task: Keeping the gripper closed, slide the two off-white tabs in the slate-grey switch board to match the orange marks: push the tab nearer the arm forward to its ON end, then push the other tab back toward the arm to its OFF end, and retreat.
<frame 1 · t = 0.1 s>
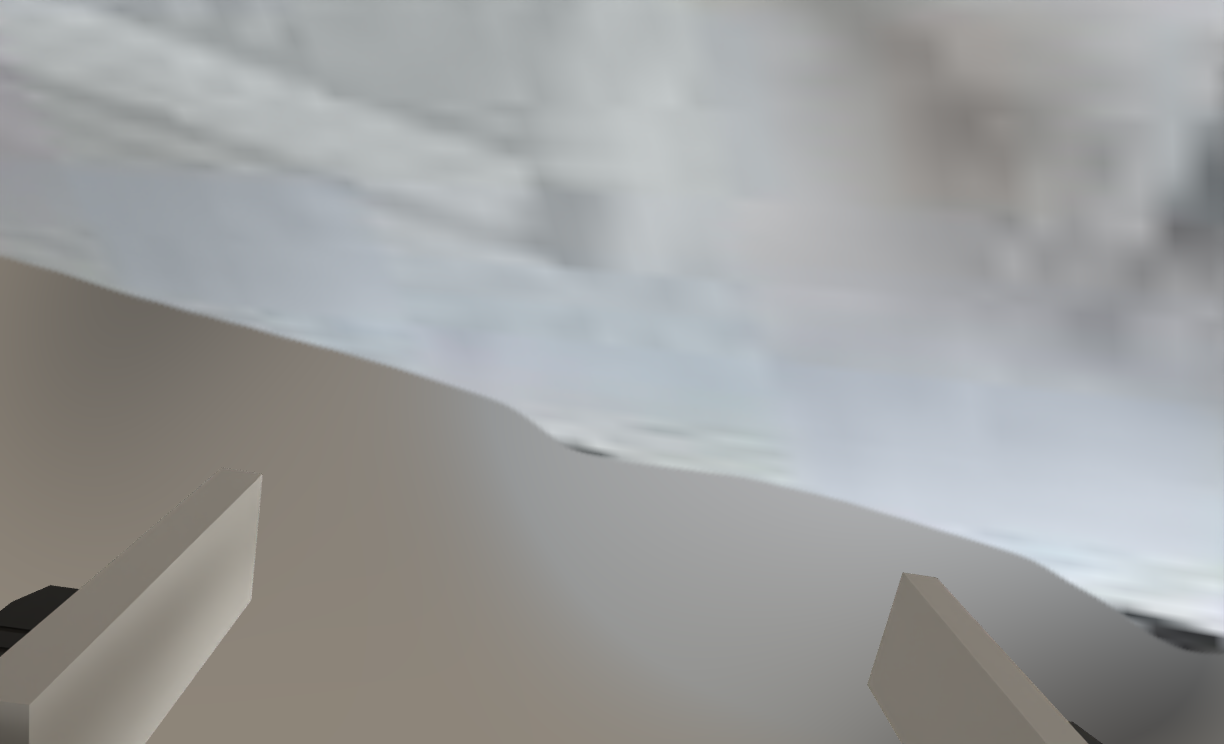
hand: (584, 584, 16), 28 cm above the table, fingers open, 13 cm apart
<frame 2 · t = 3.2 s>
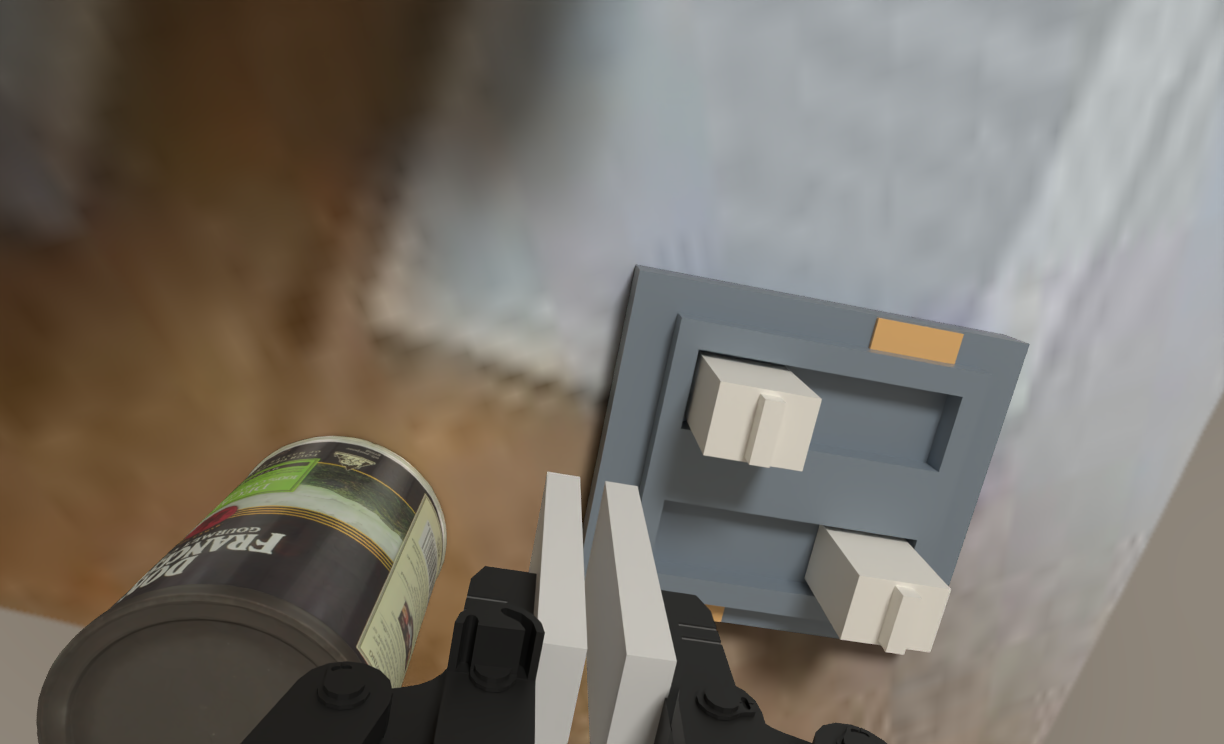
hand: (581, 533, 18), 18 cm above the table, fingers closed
tab b: (875, 588, 34), point 5 cm above the table, slide at 7.5 cm
tab a: (749, 410, 31), point 5 cm above the table, slide at 0.0 cm
coffee can: (341, 533, 37), on the table
switch board: (783, 460, 37), on the table
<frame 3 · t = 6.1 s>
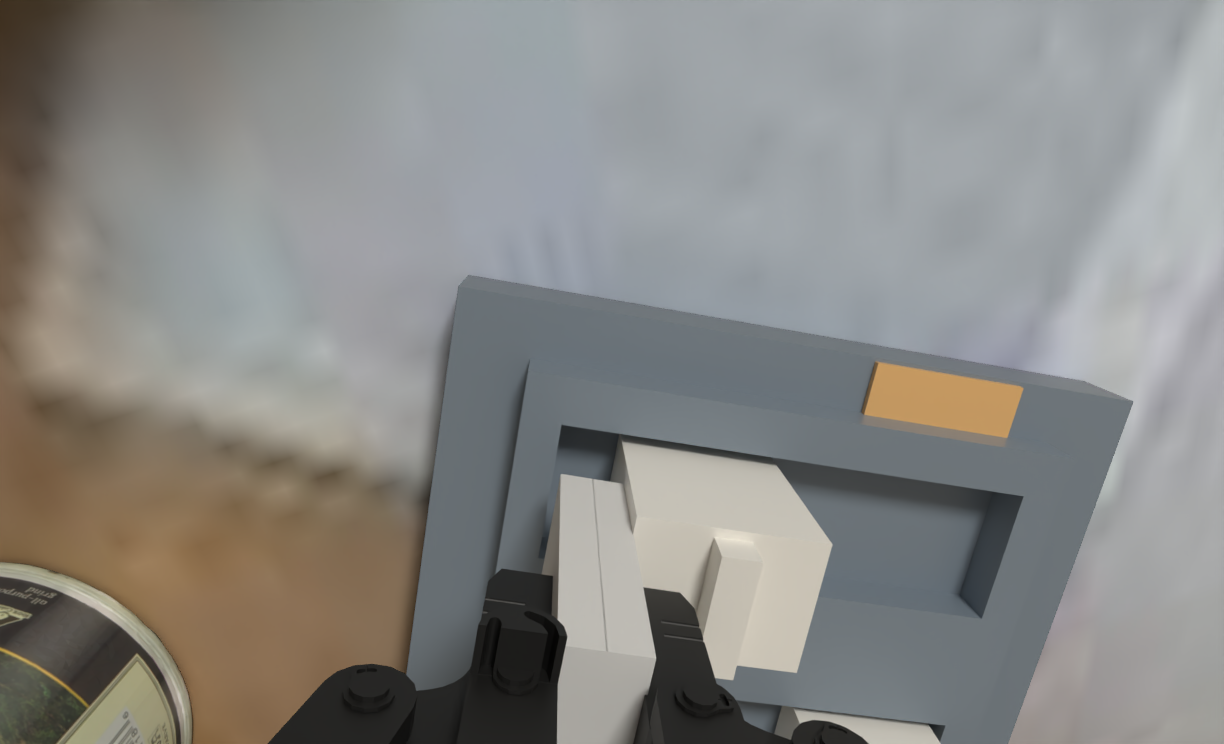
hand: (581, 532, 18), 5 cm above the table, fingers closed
tab a: (702, 547, 18), point 5 cm above the table, slide at 1.3 cm, touching gripper
coffee can: (25, 707, 23), on the table
switch board: (727, 583, 23), on the table
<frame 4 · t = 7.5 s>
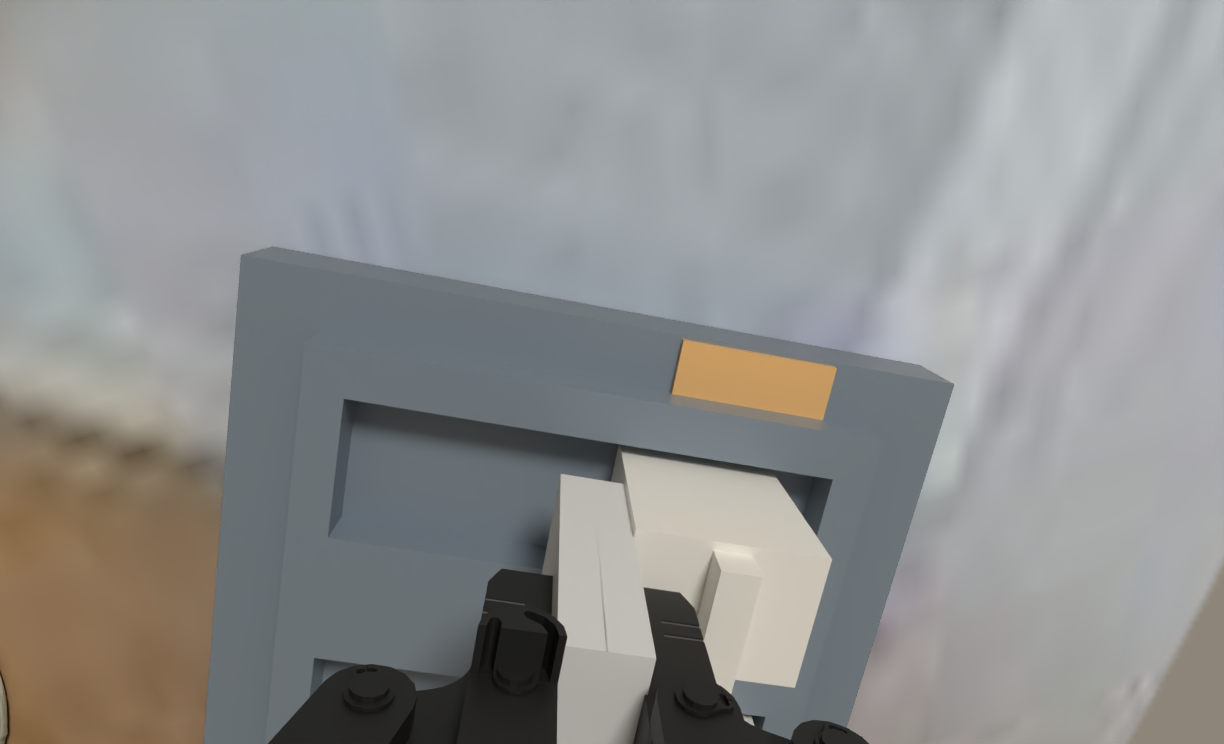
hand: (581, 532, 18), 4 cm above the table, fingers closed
tab a: (700, 560, 17), point 5 cm above the table, slide at 6.4 cm, touching gripper
switch board: (559, 569, 23), on the table
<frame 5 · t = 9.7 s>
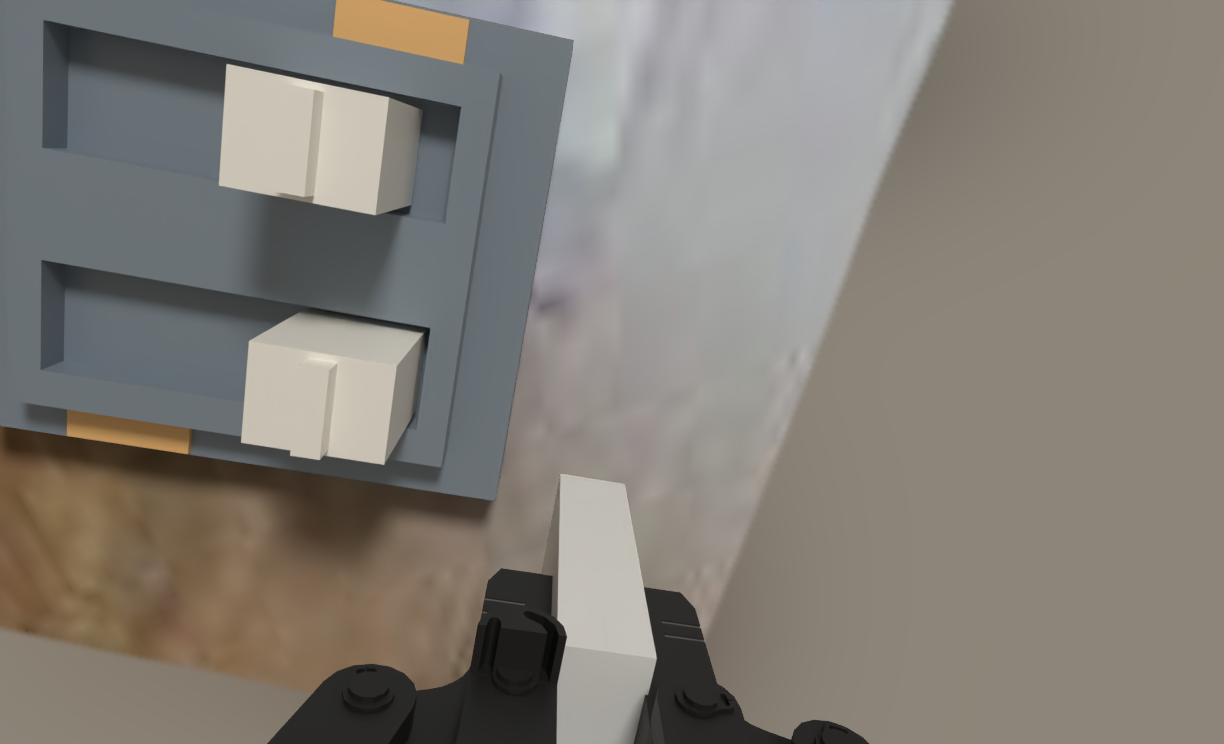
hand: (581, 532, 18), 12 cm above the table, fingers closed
tab b: (339, 383, 24), point 5 cm above the table, slide at 7.5 cm
tab a: (327, 143, 22), point 5 cm above the table, slide at 6.5 cm
switch board: (281, 232, 27), on the table
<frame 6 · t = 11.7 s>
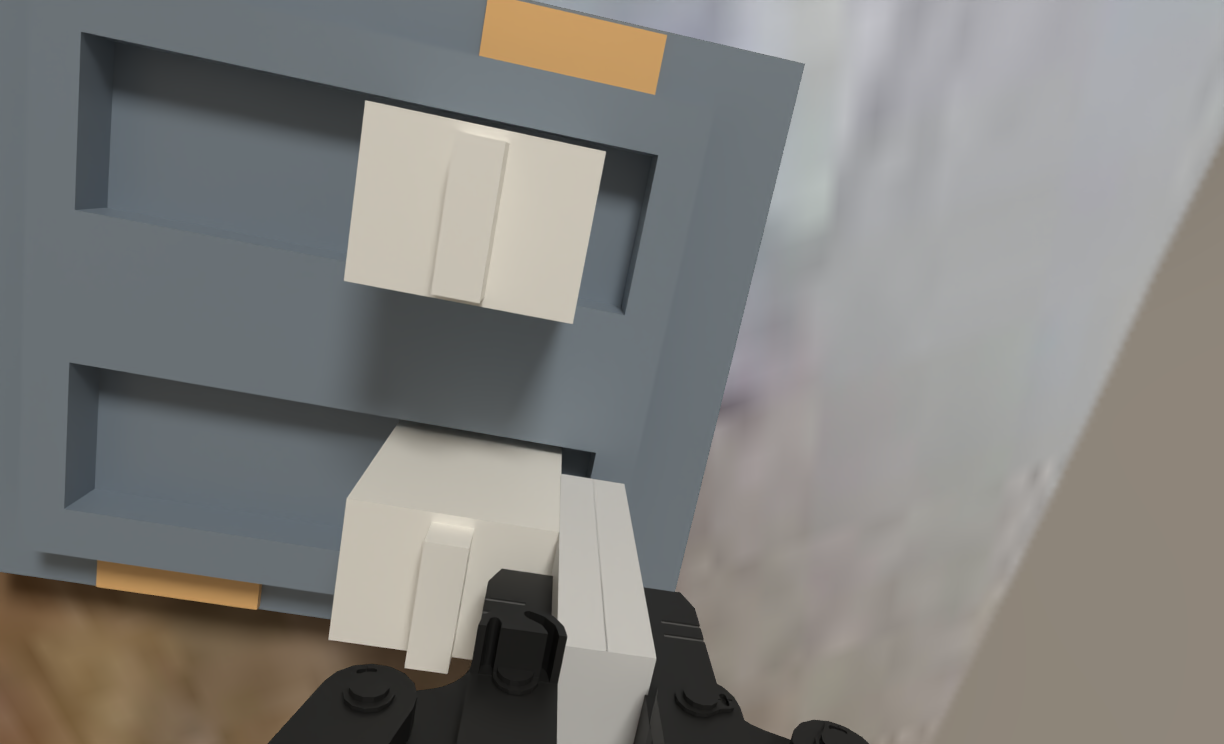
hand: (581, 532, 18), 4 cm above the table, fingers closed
tab b: (458, 536, 17), point 5 cm above the table, slide at 7.0 cm, touching gripper
tab a: (486, 211, 15), point 5 cm above the table, slide at 6.5 cm
switch board: (383, 313, 20), on the table
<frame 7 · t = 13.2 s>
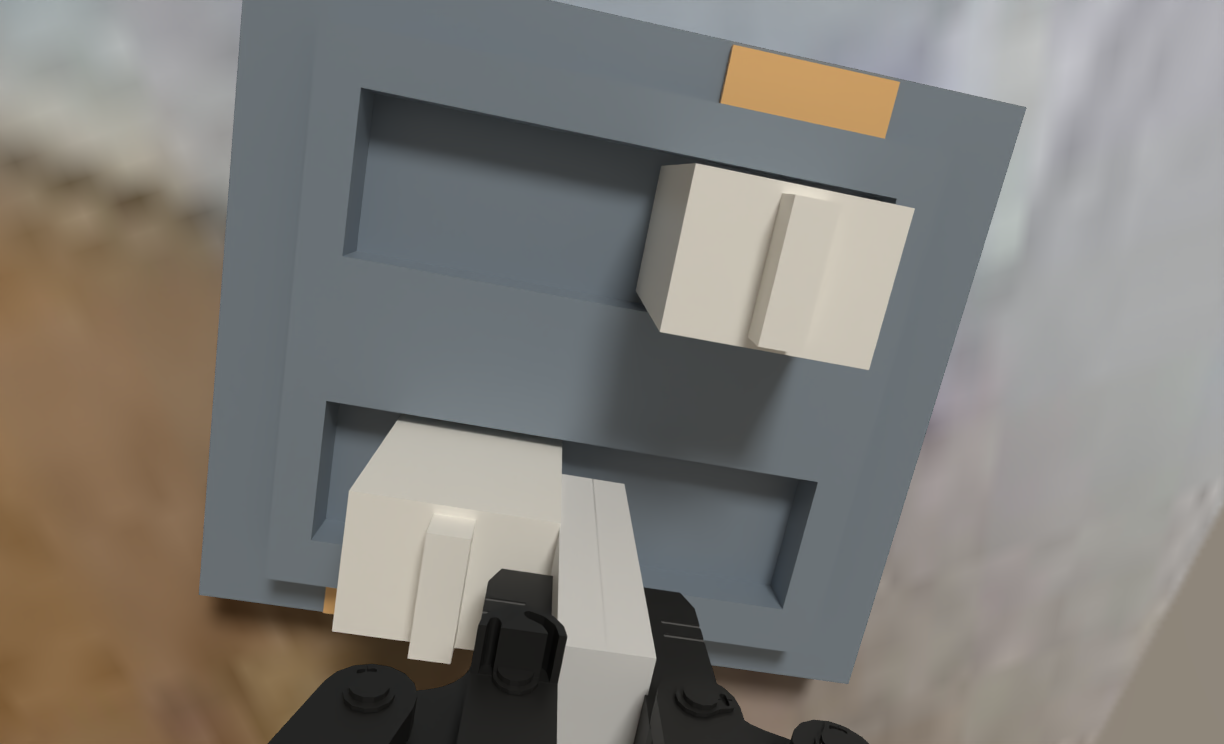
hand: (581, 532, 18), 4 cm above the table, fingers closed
tab b: (459, 529, 17), point 5 cm above the table, slide at 1.4 cm, touching gripper
tab a: (757, 258, 16), point 5 cm above the table, slide at 6.5 cm
switch board: (589, 345, 21), on the table
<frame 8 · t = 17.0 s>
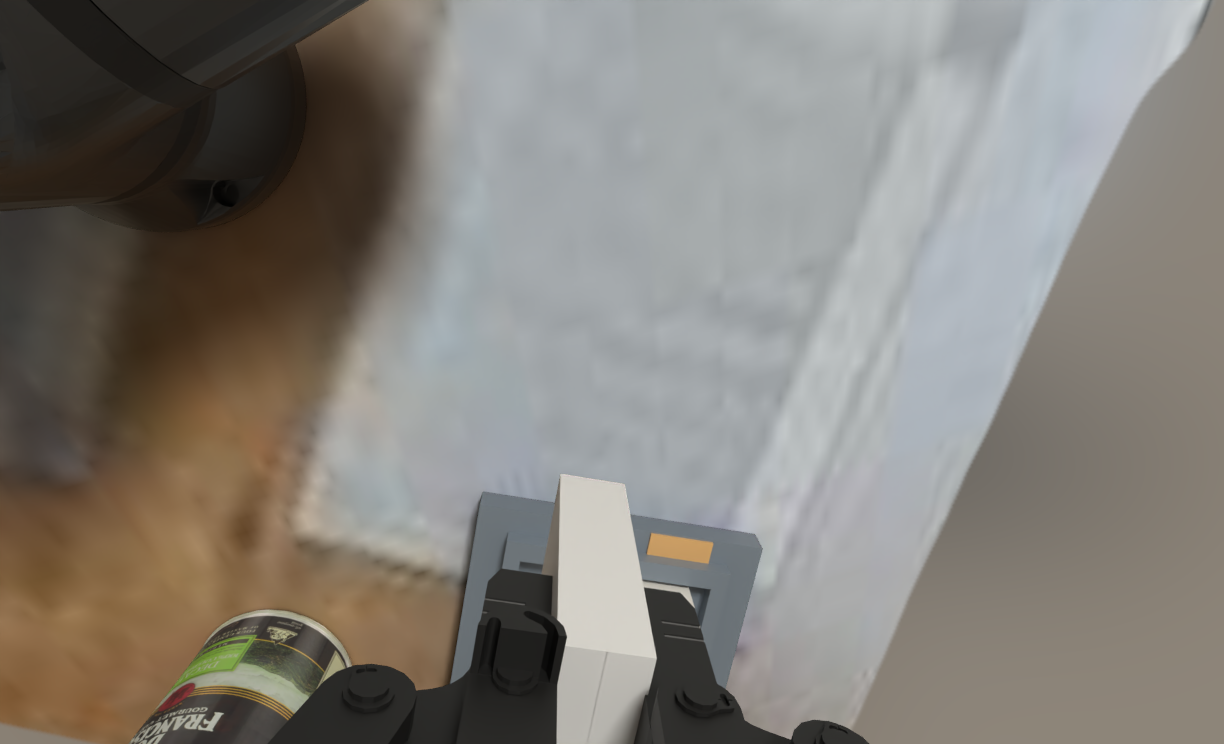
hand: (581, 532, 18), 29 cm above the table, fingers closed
tab a: (656, 623, 46), point 5 cm above the table, slide at 6.5 cm
coffee can: (277, 674, 51), on the table
switch board: (598, 621, 52), on the table
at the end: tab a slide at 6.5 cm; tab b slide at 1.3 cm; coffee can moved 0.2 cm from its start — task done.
